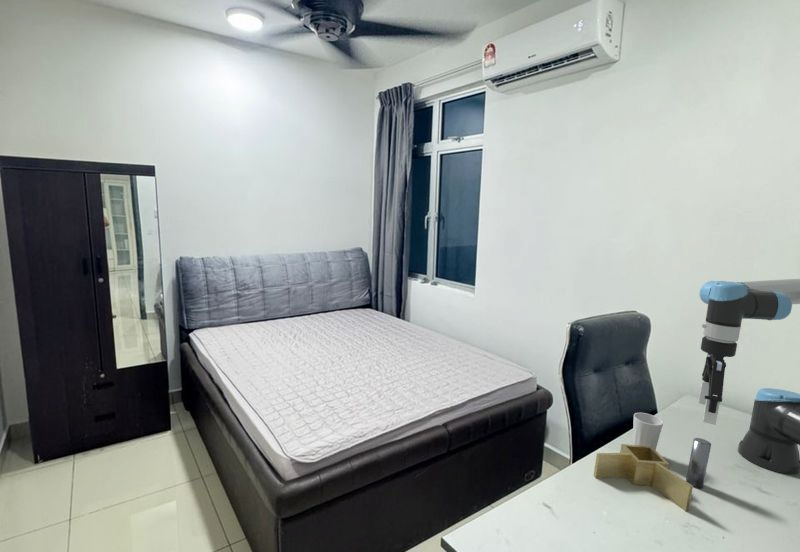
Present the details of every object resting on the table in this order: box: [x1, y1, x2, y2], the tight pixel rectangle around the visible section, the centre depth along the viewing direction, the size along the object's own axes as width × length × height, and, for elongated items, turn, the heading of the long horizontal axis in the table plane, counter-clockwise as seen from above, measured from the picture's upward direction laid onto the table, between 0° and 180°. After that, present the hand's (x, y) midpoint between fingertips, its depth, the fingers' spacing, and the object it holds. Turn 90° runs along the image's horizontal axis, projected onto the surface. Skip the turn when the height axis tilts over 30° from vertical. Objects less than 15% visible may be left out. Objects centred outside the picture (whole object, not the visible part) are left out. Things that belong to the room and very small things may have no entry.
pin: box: [685, 437, 712, 490], centre depth 118 cm, size 4×4×13 cm
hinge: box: [593, 443, 694, 512], centre depth 116 cm, size 19×18×7 cm
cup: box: [631, 412, 664, 451], centre depth 132 cm, size 8×8×12 cm
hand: (706, 413), depth 115 cm, fingers open, 13 cm apart
